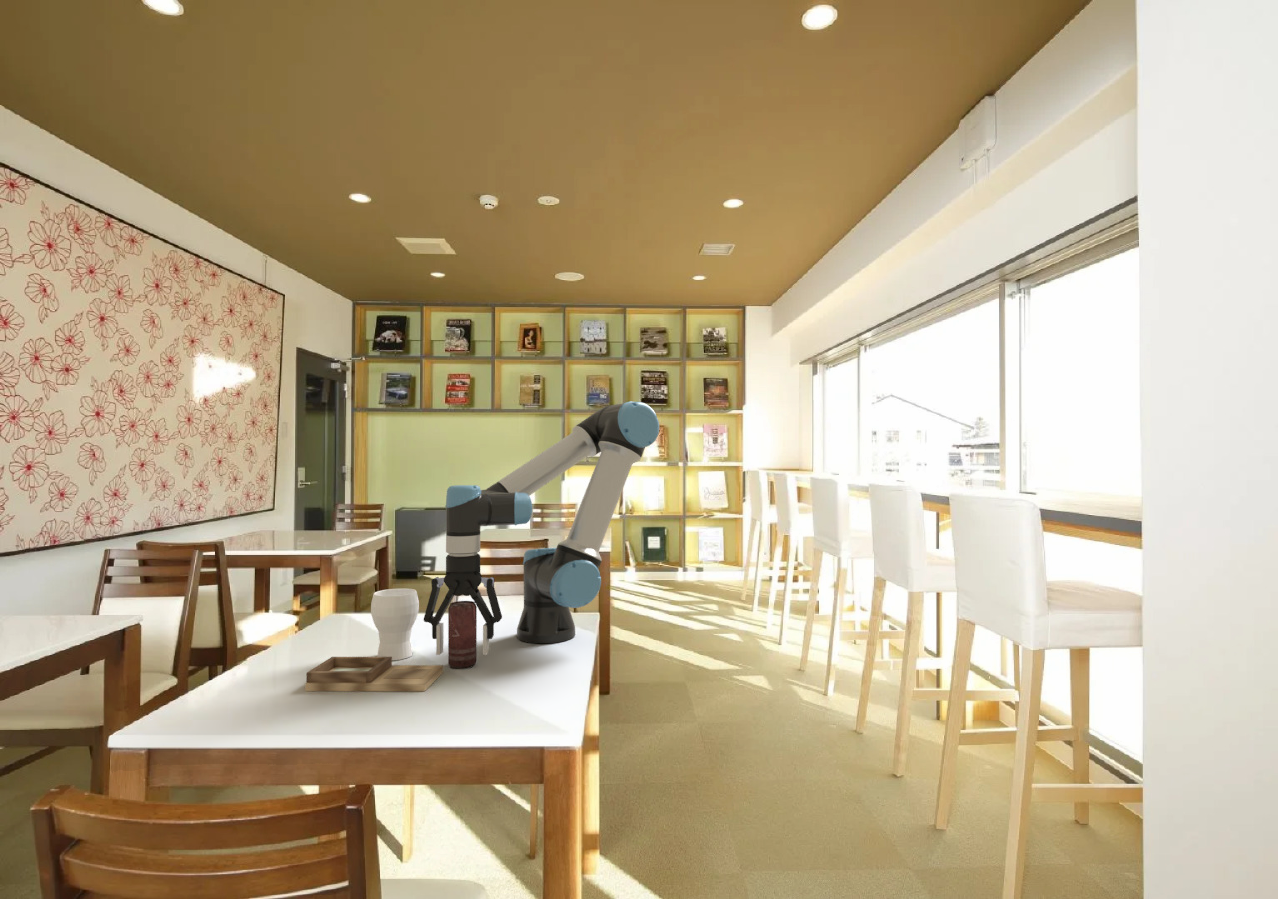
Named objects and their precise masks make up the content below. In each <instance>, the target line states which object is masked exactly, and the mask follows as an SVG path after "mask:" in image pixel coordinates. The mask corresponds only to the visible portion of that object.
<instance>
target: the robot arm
mask: <svg viewBox="0 0 1278 899" xmlns="http://www.w3.org/2000/svg"><path fill="white" fill-rule="evenodd" d="M571 431H572V432H570V434H568V435H566V436H565V437H564V438H562V439H560V440H559V441H557V442H556V443H554V444H553V445H551V446H550V447H548V448H546V449H545V450H543V451H542V452H541V453H539V454H537V455H536V456H534V457H533V458H531V459H530V460H529V461H526V462H525V463H524V464H522V465H520V466H519V467H518V468H516V469H515V470H513V471H512V472H510V473H509V474H507V475H506V476H504V477H502V478H501V479H499V480H498V481H497V482H496V483H493V484H492V485H490V486H489V487H487V488H486V489H481V486H480V485H476V484H474V485H473V484H469V485H468V484H467V485H465V484H461V485H458V484H457V485H456V484H455V485H451V486H448V488H447V490H446V495H445V496H446V500H445V506H444V507H445V519H446V520H445V522H446V524H445V525H446V526H445V527H446V529H445V530H446V532H445V534H446V535H445V553H447V555H446V556H445V575H444V577H439V576H437V577H436V576H435V577H434V578H432V579H431V591H430V595H429V598H428V602H427V606H426V608H425V612H424V617H423V622H425V623H429V624H431V633H432V634H431V637H432V640H435V642H436V644H435V645H436V648H435V649H436V656H440V655H441V654H442V653H444V622H441V621H442V618H443V616H444V615H445V613H446V612H447V609H448V608H449V606H450V603H452V600H453V599H454V597H459V596H463V597H471V599H472V600H473V602H475V604H476V606H477V610H478V611H479V613H480V614H481V616H482V617H483V620H484V621H485V623H484V624H483V625H482V655H483V656H487V655H488V654H489V652H490V640H492V639H493V638H494V634H495V632H494V631H495V630H494V629H495V626H494V625H495V624H496V623H499V622H500V621H501V620H502V618H503V615H502V611H501V607H500V603H499V600H498V597H497V592H496V589H495V581H496V580H495V577H493V576H491V577H483V576H482V574H481V555H480V554H479V553H480V551H481V527H488V526H489V527H491V526H513V525H514V526H518V525H524V524H527V523H529V522H530V520H531V518H532V514H533V503H532V499H531V497H530V496H531V495H533V494H534V493H535V492H538V491H539V490H540V489H541V488H543V487H544V486H546V485H548V484H549V483H550V482H552V481H553V480H555V479H556V478H558V477H559V476H561V475H562V474H563V473H565V472H566V471H568V470H570V469H571V468H572V467H573V466H575V465H576V464H578V463H580V462H581V461H582V460H584V459H585V458H588V457H591V458H593V457H595V456H596V455H598V454H599V457H598V459H597V461H596V464H595V467H594V469H593V472H592V475H591V476H590V479H589V482H588V484H587V486H586V489H585V492H584V495H583V497H582V500H581V502H580V504H579V507H578V510H577V513H576V515H575V517H574V520H573V522H572V525H571V528H570V530H569V532H568V535H567V536H566V539H565V540H563V541H561V542H558V543H557V546H556V547H547V548H536V549H535V548H532V549H527V550H526V551H525V552H524V554H523V561H522V565H523V608H522V611H521V615H520V618H519V621H518V624H517V626H516V627H517V628H516V639H517V640H519V641H522V642H525V643H529V644H530V643H531V644H553V643H560V642H565V641H568V640H571V639H573V638H574V637H576V625H575V622H574V619H573V616H572V613H571V609H570V608H572V609H574V608H575V609H578V608H582V607H584V606H587V605H589V604H590V603H591V602H593V601H594V599H595V598H596V597H597V595H598V593H599V592H600V589H601V585H602V577H601V575H600V574H601V573H600V570H599V569H600V567H601V564H602V556H601V555H600V549H601V546H602V544H603V542H604V539H605V535H606V534H607V531H608V529H609V525H610V524H611V521H612V518H613V515H614V513H615V510H616V508H617V506H618V505H617V504H618V502H619V500H620V498H621V495H622V492H623V489H624V487H625V484H626V481H627V479H628V477H629V473H630V471H631V469H632V466H633V464H635V463H637V462H640V461H641V459H642V458H643V454H644V452H645V449H646V448H647V447H649V446H651V445H652V444H653V443H654V442H655V441H657V439H658V436H659V433H660V422H659V419H658V416H657V414H656V412H655V411H654V409H653V408H652V407H651V406H650V405H648V404H647V403H645V402H643V401H642V402H641V401H633V400H631V401H626V402H623V403H617V404H616V403H615V404H609V405H606V406H603V407H602V408H600V409H598V410H597V411H595V412H594V413H592V414H591V415H589V416H587V417H586V418H585V419H584V420H582V421H581V422H579V423H577V424H576V425H575V426H573V427H572V430H571ZM443 584H445V586H446V587H447V589H448V590H447V593H446V595H445V597H444V598H443V600H442V602H441V604H440V605H439V607H438V609H437V612H436V613H435V609H436V605H437V602H438V599H439V594H440V592H441V591H440V590H441V587H443ZM481 584H483V587H484V588H486V594H487V598H488V601H489V606H490V608H491V610H490V609H489V607H488V606H487V603H486V602H485V599H484V598H483V597H482V595H481V591H480V590H479V586H481ZM491 612H492V613H491ZM434 614H435V615H434Z"/></svg>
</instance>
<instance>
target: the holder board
mask: <svg viewBox="0 0 1278 899" xmlns="http://www.w3.org/2000/svg"><path fill="white" fill-rule="evenodd" d="M443 673H444V665H443V664H442V665H441V664H437V665H436V664H435V665H433V664H432V665H430V664H429V665H427V664H426V665H425V664H420V665H418V664H417V665H416V664H415V665H414V664H413V665H411V664H408V665H407V664H405V665H403V664H402V665H401V664H399V665H398V664H393V660H392V657H377V656H331V657H328V659H326V660H324V661H323V662H321V663H320V664H318V665H317V666H315V667H314V668H312V669H310V670H309V671H307V672H306V682H305V683H304V684H305V685H304V689H305V690H304V691H305V692H426V691H427V689H428V688H430V686H431V685H432V684H434V682H435V681H436V680H437V679H438V678H439V677H440V676H441V675H442V674H443Z"/></svg>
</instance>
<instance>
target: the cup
mask: <svg viewBox="0 0 1278 899" xmlns="http://www.w3.org/2000/svg"><path fill="white" fill-rule="evenodd" d="M419 605H420V600H419V596H418V592H417V590H416V589H413V588H389V589H382V590H378V591H375V592H373V595H372V599H371V603H370V614H371V618H372V621H373V624H374V626H375V627H376V630H377V632H378V638H379V639H378V640H379V643H378V650H377V656H376V657H392V661H399V660H405V659H408V658H410V657H411V656H413V648H412V647H413V646H412V642H411V636H412V629H413V626H414V625H415V623H416V622H417V621H416V620H417V619H418V618H417V617H418V614H419V611H420V606H419Z"/></svg>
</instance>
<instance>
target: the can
mask: <svg viewBox="0 0 1278 899" xmlns="http://www.w3.org/2000/svg"><path fill="white" fill-rule="evenodd" d="M447 609H448V610H447V613H448V618H447V619H448V620H447V621H448V622H447V623H448V624H447V625H448V626H447V627H448V628H447V629H448V631H447V632H448V633H447V635H448V638H447V640H448V641H447V642H448V645H447V646H448V648H447V649H448V654H447V657H448V658H447V659H448V660H447V661H448V662H447V664H448V665H449V666H448V667H450V668H451V669H455V670H463V669H470V668H472V667H474V666H476V664H477V652H478V651H477V646H478V645H477V644H478V643H477V642H478V641H477V636H478V635H477V633H478V632H477V628H478V626H477V616H478V615H477V613H478V612H477V610H478V607H477V605H476V603H475V602H474V600H473V601H472V600H458V601H453V602H452V601H451V602H450V604H449V606H448V608H447Z"/></svg>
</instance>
